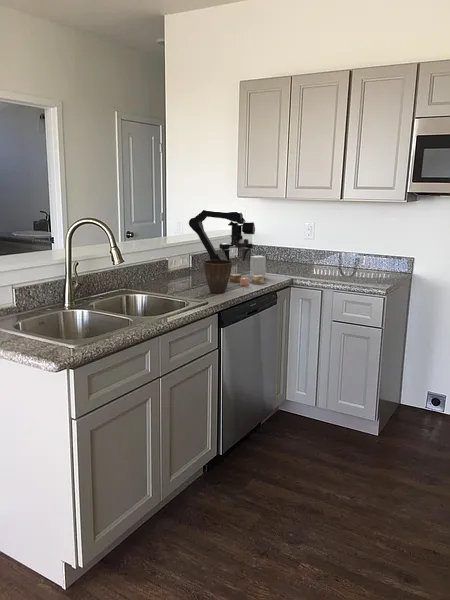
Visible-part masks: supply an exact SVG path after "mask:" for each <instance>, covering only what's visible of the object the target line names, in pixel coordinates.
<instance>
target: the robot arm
mask: <svg viewBox="0 0 450 600" xmlns="http://www.w3.org/2000/svg"><path fill="white" fill-rule="evenodd" d="M206 218H217V219H223V220H224V219H225V220H228V221H230V222H229V223H228V224H227V226H230V227H231V235H230V237H231V241H229V242H230V244H229V243H225V242H224V243H219V249H221V251H223V252H224V254H225V257H226V260H227V261H230V250H231V248H237V249H241V256H242V257H241V259H242V262H243V261H245V258H246V256H247V253H248V252H249V251H250V250H252V249H253V248H254V247H253V246H254V245H253V243H251V242H249V239H248V238H245V239H244V238H243V235H255V233H256V226H255V222H254V221H250V222H249V221H246V220H245V218H244V215H243V213H242V212H241V211H239V210H237V211H236V210H235V211H219V210H210V209H202V211H201V212H199V213H198V214H197V215H195V216H194V217H191V218H190V219H189V221H188V225H189V227H190V228H191V229H192V231H193V232H194V233H195V234H197V236H198V238H199V239H200V241H201V243H202V245H203V247H204V249H205V250H206V252H207V254H208V256H209V260H225V257H223V255H222V252H217V250H216V248H215V247H214V245H213V243H212V242H211V239H210V238H209V236H208V235H207V233H206V232H205V228H204V224H203V221H205V220H206ZM242 234H243V235H242Z"/></svg>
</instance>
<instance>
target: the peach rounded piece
mask: <svg viewBox="0 0 450 600" xmlns="http://www.w3.org/2000/svg"><path fill="white" fill-rule="evenodd" d="M249 282H250V278H248V277H241V278H240V282H239V286H241V287H248V286H249V285H250V283H249Z"/></svg>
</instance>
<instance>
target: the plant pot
mask: <svg viewBox="0 0 450 600" xmlns="http://www.w3.org/2000/svg"><path fill="white" fill-rule="evenodd" d="M232 267H233V261H231V260H229V261H228V260H227V259H224V260H210V259H207V260H204V261H203V269H204V274H205V279H206V283H207V286H208V289H209V291H210V293H211V292H212V294H223V293H225V291H226V289H227V287H228V285H229V281H230V274H232V273H231V272H232V269H233V268H232Z"/></svg>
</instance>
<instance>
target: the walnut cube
mask: <svg viewBox="0 0 450 600" xmlns="http://www.w3.org/2000/svg"><path fill="white" fill-rule="evenodd" d="M240 278H242V274H239V273H230V277H229V281H230V282H231V283H232V282H233V283H238V282H239V283H240Z"/></svg>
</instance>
